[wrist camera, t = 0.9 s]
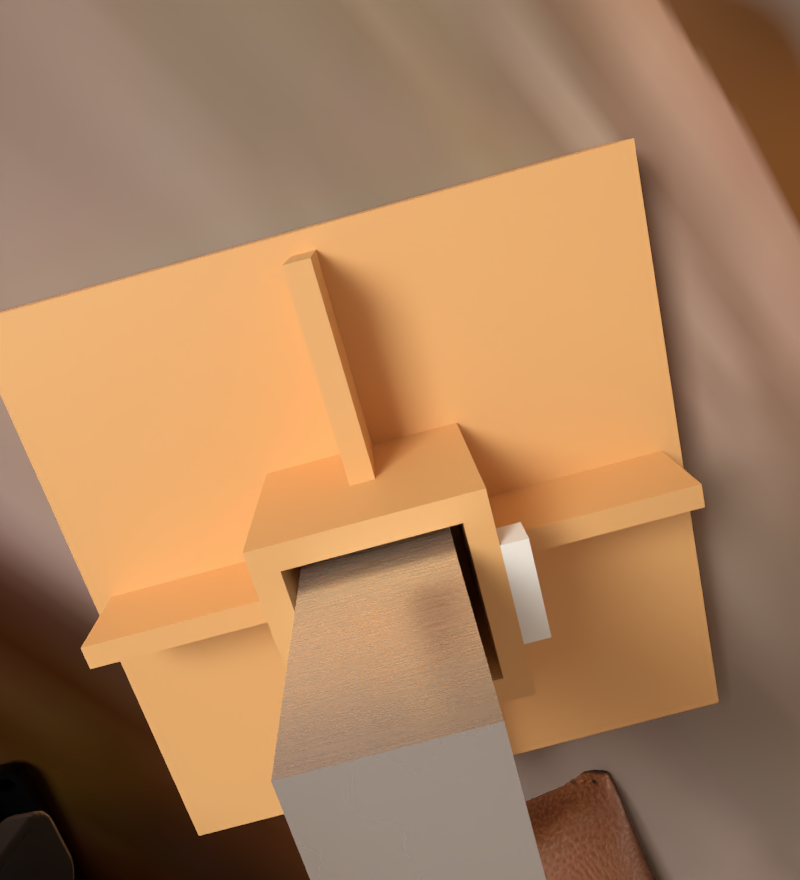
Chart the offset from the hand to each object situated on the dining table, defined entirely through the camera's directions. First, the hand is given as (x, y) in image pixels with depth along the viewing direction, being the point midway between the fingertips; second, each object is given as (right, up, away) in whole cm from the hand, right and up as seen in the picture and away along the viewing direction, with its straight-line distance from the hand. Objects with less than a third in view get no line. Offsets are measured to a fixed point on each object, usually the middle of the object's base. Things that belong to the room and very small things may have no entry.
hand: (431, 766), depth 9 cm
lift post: (-1, +1, +12) cm, 12 cm away
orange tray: (-1, +2, +13) cm, 13 cm away
